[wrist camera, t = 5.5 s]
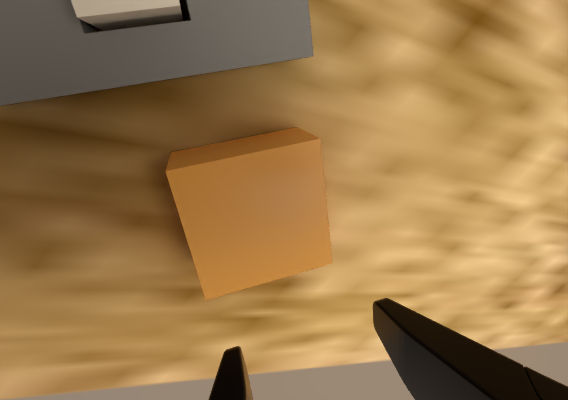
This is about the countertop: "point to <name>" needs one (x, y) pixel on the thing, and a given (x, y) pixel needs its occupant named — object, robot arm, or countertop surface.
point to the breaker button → (127, 13)
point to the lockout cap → (252, 208)
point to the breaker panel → (141, 45)
